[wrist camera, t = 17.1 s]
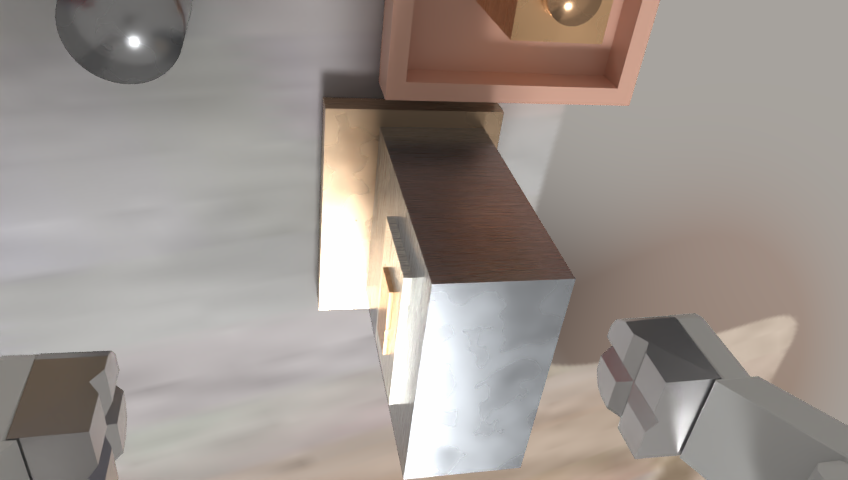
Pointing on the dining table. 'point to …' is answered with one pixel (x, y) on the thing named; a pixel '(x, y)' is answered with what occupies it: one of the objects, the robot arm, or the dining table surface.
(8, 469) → the robot arm
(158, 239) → the dining table surface
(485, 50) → the tray
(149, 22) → the steel cylinder
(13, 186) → the dining table surface
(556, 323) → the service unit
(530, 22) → the oak wood brick
